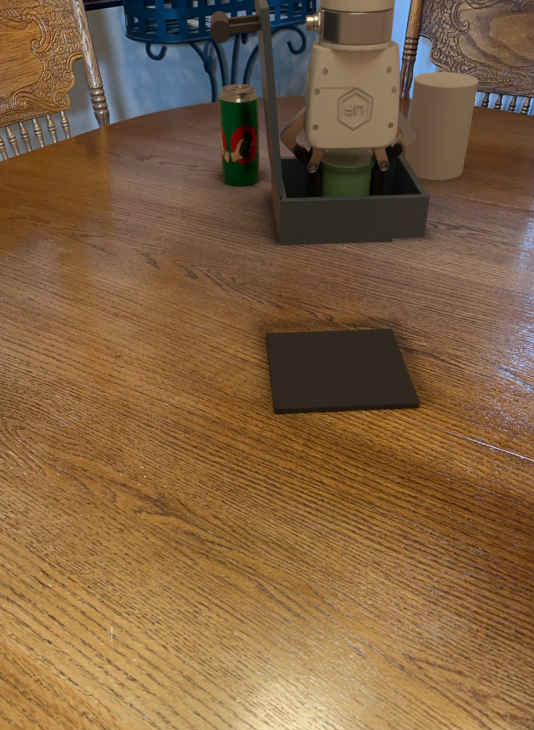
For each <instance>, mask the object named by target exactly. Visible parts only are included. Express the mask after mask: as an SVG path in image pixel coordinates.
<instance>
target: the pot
mask: <svg viewBox="0 0 534 730" xmlns="http://www.w3.org/2000/svg"><path fill="white" fill-rule="evenodd" d="M375 161H376V158H375V156H374V155H373V153H371V152H369V151H366V150H326V151H325V153H324V155H323V158H322V160H321V162H320V164H319V165H320V166H321V169H320V171H321V173H322V181H321V197H345V196H370V187H371V176H372V168H373V167H374V166H375Z"/></svg>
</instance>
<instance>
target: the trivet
mask: <svg viewBox="0 0 534 730" xmlns="http://www.w3.org/2000/svg"><path fill="white" fill-rule="evenodd" d="M265 338H266V341H265V342H266V348H267V349H266V350H267V358H268V367H269V375H270V383H271V391H272V400H273V402H272V403H273V409H274V414H275V415H276V414H297V413H298V414H299V413H301V414H302V413H322V412H323V413H324V412H343V411H347V412H348V411H369V410H370V411H371V410H373V411H374V410H393V409H416V408H417V409H418V408H420V406H421V402H420V399H419V397H418V396H419V395H417V391H416V389H415V386H414V384H413V381H412V378H411V376H410V373H409V370H408V367H407V365H406V362H405V360H404V357H403V354H402V352H401V349H400V346H399V344H398V341H397V339H396V336H395V333H394V331H393V328H371V329H369V328H367V329H343V330H340V329H339V330H315V331H291V332H290V331H288V332H266V333H265Z"/></svg>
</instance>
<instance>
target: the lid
mask: <svg viewBox="0 0 534 730" xmlns="http://www.w3.org/2000/svg"><path fill="white" fill-rule="evenodd" d="M254 9H255V10H254V11H255V14H248V15H239V16H232V17H231V16H230V17H229V16H228V14H227V13H226V12H224V11H222V10H217V11H215V12H214V13H212V14H211V17H210V19H209V34H210V36H211V37H210V38H212V40H213V41H214V42H215V43H217V44H224V43H226V42H227V41H228V40H229V38H230V36H231V35H235V34H245V33H252V32H257V42H258V43H257V45H258V55H259V66H260V77H261V88H262V99H263V112H264V123H265V134H266V145H267V147H266V148H267V155H268V160H269V165H270V171H272V176H273V181H274V187H275V192H276V196H277V197H279V196H283V195H284V194H283V181H282V168H281V157H282V156H281V144H280V143H281V141H280V131H279V129H280V128H279V118H278V104H277V92H276V79H275V67H274V53H273V39H272V27H271V13H270V12H271V11H270V6H269V4H268V1H267V0H254Z"/></svg>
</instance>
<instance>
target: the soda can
mask: <svg viewBox="0 0 534 730" xmlns="http://www.w3.org/2000/svg"><path fill="white" fill-rule="evenodd" d="M220 91H221V92H220V94H219V97H218V114H219V135H220V156H221V157H220V159H221V173H222V174H221V177H222V183H223V184H225V185H226V186H229V187H236V188H246V187H251V186H255V185H257V184H258V183H260V178H261V177H260V176H261V175H260V110H259V109H260V107H259V106H260V103H259V102H260V101H259V100H260V99H259V98H260V97H259V95H258V94H257V92H256V87H255V86H254V85H251V84H243V83H232V84H227V85H225V86H222V87H221V88H220Z"/></svg>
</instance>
